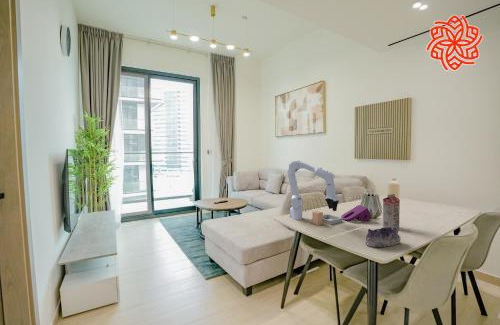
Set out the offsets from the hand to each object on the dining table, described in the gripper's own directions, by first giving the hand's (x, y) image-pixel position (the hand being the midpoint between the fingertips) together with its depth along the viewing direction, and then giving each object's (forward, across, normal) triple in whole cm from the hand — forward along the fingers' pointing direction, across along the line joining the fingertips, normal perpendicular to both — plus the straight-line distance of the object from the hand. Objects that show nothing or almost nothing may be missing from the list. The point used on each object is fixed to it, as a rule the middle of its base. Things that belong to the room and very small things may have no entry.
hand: (332, 209), depth 162 cm
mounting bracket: (+12, +9, -18) cm, 24 cm away
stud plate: (+10, +1, +11) cm, 15 cm away
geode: (+14, -33, -14) cm, 38 cm away
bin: (+10, +6, +1) cm, 12 cm away
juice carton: (+14, -8, -34) cm, 38 cm away
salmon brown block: (+9, +1, +11) cm, 14 cm away
